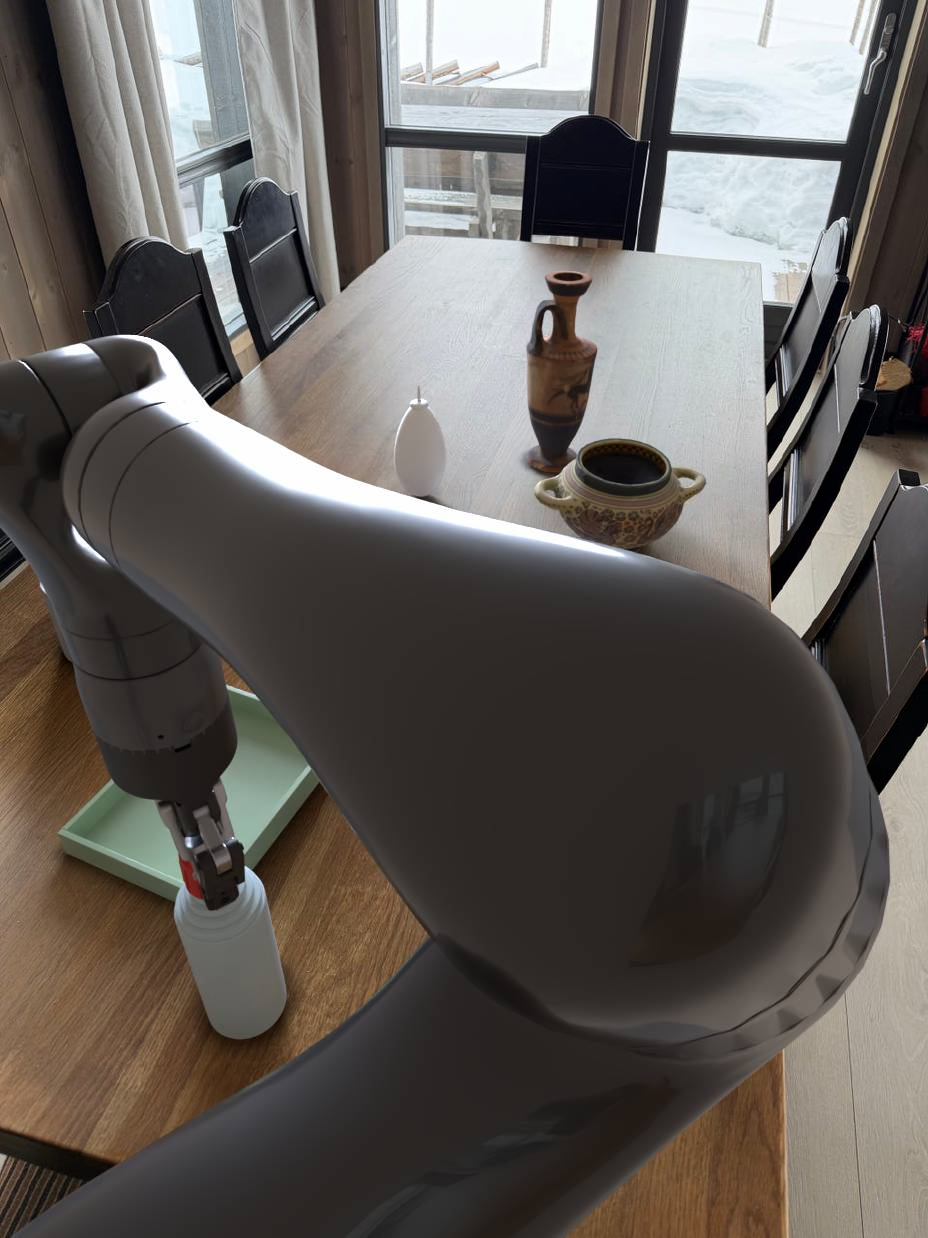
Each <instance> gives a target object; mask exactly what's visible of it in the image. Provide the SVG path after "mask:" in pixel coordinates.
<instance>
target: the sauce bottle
mask: <svg viewBox="0 0 928 1238" xmlns="http://www.w3.org/2000/svg"><path fill="white" fill-rule="evenodd" d="M416 390H417V392H416V398H415V399H412V400H411V401H410V403H409V408H408V409H407V410H406V412H405V413H404V415H403V417H402V419H401V420H400V424H399V425H398V429H397V433H396V435H395V436H396V437H395V442H394V449H393V462H394V463H393V464H394V469H395V472H396V476H397V479H398V481H399V483H400V484H401V486H402V487H403V488H404V490H405V491H407V492H409V493H410V494H411V495H413V496H415V497H419V498H424V497H428V496H430V495H431V494H432V493H433V492H435V491H436V490H437V489H438V488H439V486H440V485H441V483H442V480H443V479H444V476H445V473H446V467H447V445H446V444H447V443H446V440H445V436H444V432H443V429H442V427H441V425H440V422H439V420H438V418H437V417H436V415H435V413H434V411H433V410H432V409H431V408H430V407H429V402H428V401H427V400H426V399H423V398H422V397H421V387H420V384H419V383H418V384H417V389H416Z"/></svg>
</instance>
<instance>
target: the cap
mask: <svg viewBox="0 0 928 1238" xmlns="http://www.w3.org/2000/svg"><path fill="white" fill-rule="evenodd" d="M185 838H189V837H188V836H186V837H185ZM234 838H235V836H234ZM178 856H179V864H180V868H181V872H182V876H183V881H184V882H185V885H186V888H187V890H188V892H189V893H190V894H191V895H193V896H194V897H196V898H198V899H201V900H203V896H202V893H201V890H200V887H199V884H198V881H197V880H196V881H195V880H194V877H193V875H192V873H194V872H193V869H192V866H191V863H190V861H183V860H182V858H181V856H180V855H179V853H178ZM237 885H238V884H237Z"/></svg>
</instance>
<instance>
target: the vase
mask: <svg viewBox="0 0 928 1238" xmlns="http://www.w3.org/2000/svg"><path fill="white" fill-rule="evenodd" d="M544 280H545V283H546V286H547V289H548V291H549V292H550V293H551V295H552V297H553V298H552V299H543V300H542V301H540V303H539V304H538V305H537V307H536V309H535V314H534V319H533V322H532V326H531V327H532V328H531V335H530V338H529V339H530V340H529V341H528V342H527V344H526V345H525V347H526V399H527V409H528V414H529V420H530V424H531V428H532V430H533V433H534V435H535V437H536V440H537V443H538V444H537V445H535V446H533V447H532V448H531V449H529V451H528V452H527V454H526V455H527V456H526V461H527V463H528V465H529V466H530V467H531V468H534V469H537V470H539V471H541V472H546V473H561V472H562V470H563V469H564V468H565V467H566V466H567V465H568V464H569V463H570V462H572V461H573V460H575V459H576V457H577V454H578V453H576V451H575V450H574V449H572V448H571V447H570V445H571V444H572V442H573V441H574V439H575V437H576V435H578V432H579V429H580V428H581V425H582V423H583V421H584V417H585V414H586V409H587V407H588V403H589V397H590V391H591V387H592V382H593V381H592V380H593V374H594V368H595V363H596V359H597V355H598V347H597V345H596V344H595V342H593V341H591V340H589V339H587V338H585V337H581V336H578V335H577V334H576V317H577V309H578V307H577V306H578V302H579V300H580V298H581V297H582V296H584V295H585V294H586V293H587V292H588V290H589V288H590V286H591V284H592V283H593V277H592V275H590V274H588V273H585V272H581V271H576V270H575V271H574V270H554V271H551V272H548V273H547V274H545V275H544ZM547 311H549V312H551V317H552V328H551V332H550V334H544V333H543V324H544V318H545V315H546V312H547Z"/></svg>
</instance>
